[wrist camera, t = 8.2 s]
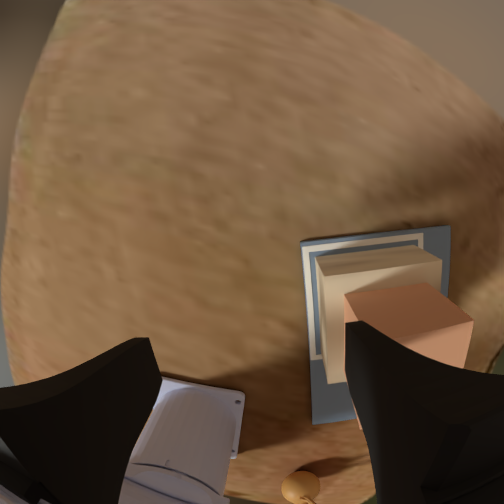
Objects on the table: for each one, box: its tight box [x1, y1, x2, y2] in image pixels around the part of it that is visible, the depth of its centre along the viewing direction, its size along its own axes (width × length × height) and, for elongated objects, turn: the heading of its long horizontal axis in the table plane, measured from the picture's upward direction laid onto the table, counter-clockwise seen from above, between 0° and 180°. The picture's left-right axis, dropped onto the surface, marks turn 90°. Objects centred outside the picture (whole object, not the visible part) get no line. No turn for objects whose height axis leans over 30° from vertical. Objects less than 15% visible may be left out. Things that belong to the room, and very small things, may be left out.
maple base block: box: [315, 245, 442, 384], centre depth 17 cm, size 7×7×4 cm
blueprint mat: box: [300, 225, 451, 425], centre depth 20 cm, size 16×11×1 cm
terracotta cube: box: [343, 283, 474, 430], centre depth 13 cm, size 5×5×5 cm
